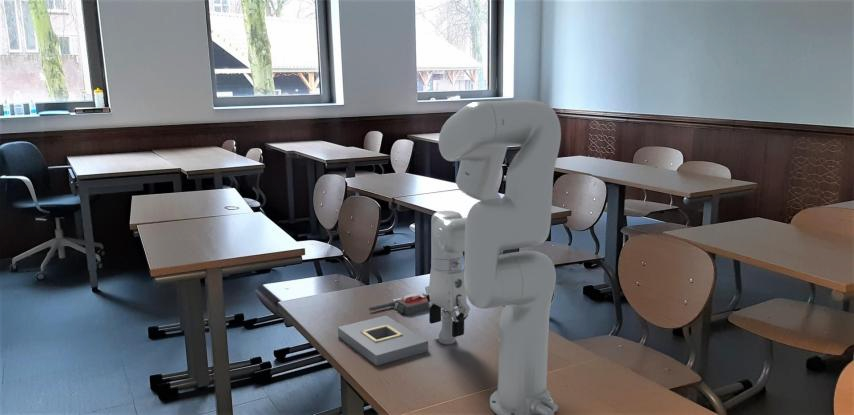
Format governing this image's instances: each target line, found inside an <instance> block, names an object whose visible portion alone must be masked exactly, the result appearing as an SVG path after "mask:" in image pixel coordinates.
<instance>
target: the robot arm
mask: <svg viewBox="0 0 854 415" xmlns="http://www.w3.org/2000/svg"><path fill="white" fill-rule="evenodd" d="M561 129H562V128H561V123H560V120H559V117H558V115H557V113H556V111H555V110H554V108H553V107H552V106H550V105H549V104H547V103H545V102H542V101H538V100H532V99H511V100H510V99H509V100H506V99H505V100H487V101H485V100H483V101H482V100H481V101H475V102H470V103H469V104H467V105H465V106H464V107H461V109H459V110H458V111H457V112H455V113H454V114H452V115H451V116H450V117H449V118H448V119H447V120H446V121H445V123H444V124H443V125H442V126H441V130H440V133H439V137H438V149H439V152H440V154H441V156H442V158H443V159H445V160H446V161H448V162H459V166H458V167H459V168H458V171H457V174H456V180H455V182H456V186H457V188H458V190H459V191H461V192H462V193H463V194H465V196H468V197H469V198H471V199H475V200H476V201H477V200H478V202H476V203H475V204H473V205H472V206H471V208H470V209H469V211H468V212H467V213H468V214H467V215H466V217H463V215H462V214H461V213H459V212H457V211H454V210H442V211H441V210H440V211H436V212H435V213H433V214H432V215H431V219H430V220H431V222H430V223H431V224H430V229H431V230H430V231H431V233H430V234H431V236H430V237H431V242H430V244H431V246H430V247H431V248H430V249H431V250H430V251H431V252H430V255H431V256H430V258H431V259H430V264H431V265H430V273H429V283H428V284H429V285H428V286H425V287H424V290H425V293H426V294H427V300H428V302H429V303H428V307H429V310H428V311H429V313H428V314H429V317H428V318H429V320H428V321H429V323H430V324H436V323H439V322H442V321H441V320H442V316H441V313H442V310H443V309H445V311H446V310H447V311H449V312H451V314H452V319H453V321H452V336H453V337H455V338H457V337H460V336H461V337H462V336H463V335H464V334H465V321H466V320H467V317H468V316H469V313H470V310H471V308H470V305H469V304H468V301H469V303H470V304H471V305H472V306H473V307H475V308H478V309H482V310H485V309H487V310H488V309H495V308H500V307H501V308H502V307H503V309H502V311H501V314H500V316H499V320H498V345H497V346H498V348H497V351H498V353H497V354H498V355H497V390H495V391H493V393H492V394H490V397H489V407H490V409H491V410H492V412H494V413H495V414H496V415H555V412H557V411H558V410H559V405H557V404H556V403H555V401H554V400H553V398H552V397H551V392H550V391H551V390H549V389H547V382H548V381H547V380H548V351H549V349H548V348H549V333H550V332H549V327H550V313H551V312H550V311H551V304H552V300H553V296H554V292H555V289H556V287H555V286H556V282H557V273H556V267H555V264H554V262H553V260H552V259H551V258H550V257H549V256H548V255H546V253H543V252H539V251H536V250H524V251H523V250H522V251H515V252H507V253H504V254H500V253H501V252H502V251H503V252H504V251H508V250H509V251H510V250H517V249H524V248H530V247H535V246H539V245H542V244H543V243H545V242H546V241H547V239H548V237H549V234H550V230H551V222H552V207H553V206H552V205H553V204H552V203H553V190H554V189H553V186H554V172H555V168H556V163H557V160H558V155H559V152H560V146H561V141H562V140H561V139H562V130H561ZM518 146H520V150H518V151H517V153H516V154H515V155H514V157H513V159H512V160H511V162H510V164H509V165H508V168H507V171H506V175H505V176H506V177H505V192H504V195H503V197H501V195H500V193H499V192H498V190H497V189H496V186H497V182H498V180H499V176H500V173H501V169H502V166H503V163H504V160H505V157H506V153H507V150H508V147H518ZM463 252H464V264H463ZM463 265H464V267H463ZM463 268H464V269H463ZM467 300H468V301H467ZM457 312H458V314H457Z"/></svg>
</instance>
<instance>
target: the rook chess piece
mask: <svg viewBox="0 0 854 415" xmlns="http://www.w3.org/2000/svg"><path fill="white" fill-rule="evenodd" d="M452 321H454V319H453V317H452V314H451V312H449V311H447V310H445V309H443V308H442V309H441V321H440V322H442V324H441V330H440V331H439V334H438V339H437V340H438V342H439V343H440V344H442V345H452V344H454V343H455V342H456V341H457V337H453V336H452Z"/></svg>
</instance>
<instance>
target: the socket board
mask: <svg viewBox="0 0 854 415" xmlns="http://www.w3.org/2000/svg"><path fill="white" fill-rule="evenodd" d="M337 337H338V338H339V339H341V340H343V342H345V343H346V344H347V345H348V346H350V347H351V348H353V349H354V350H355V351H356V352H357V353H359V354H361V356H363V357H365V358H366V359H367V360H369V361H370V362H371V363H373V364H374V365H375V366H380V365H384V364H388V363H391V362H395V361H397V360H398V361H399V360H401V359H405V358H408V357H411V356H415V355H419V354H422V353H426V352H428V351H429V341H428V340H427V339H426V338H424V337H422V336H420V335H419V334H417V333H416V332H414V331H413V330H411V329H410V328H407V327H406V326H404V325H403V324H402V323H399V322H397V321H396V320H394V319H393V318H391V317H390V316H388V315H382V316H378V317H373V318H370V319H365V320H361V321H357V322H353V323H349V324H345V325H341V326H337Z"/></svg>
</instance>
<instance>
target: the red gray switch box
mask: <svg viewBox="0 0 854 415" xmlns="http://www.w3.org/2000/svg"><path fill="white" fill-rule="evenodd" d="M428 303H429V302H428V300H427V294H426V292H421V294H417V293H414V292H413V293H410V294H405V295H403V296H402V297H398V298H393V299H392V300H391V301H389V302H387V303H382V304H378V305H375V306H373V305H372V306H370V307H369V308H368V310H369V311H370V312H373V311H376V310H380V309H385V308H391V307H392V308H393V309H394V310H397V311H399V313H400V314H404V315H406V316H410V315H414V314H417V313H422V312H425V311H429V307H428Z"/></svg>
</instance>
